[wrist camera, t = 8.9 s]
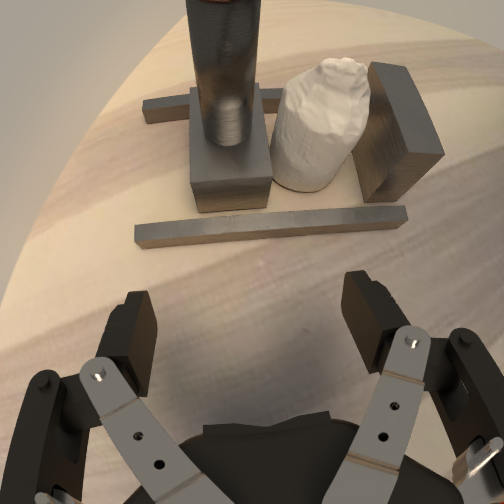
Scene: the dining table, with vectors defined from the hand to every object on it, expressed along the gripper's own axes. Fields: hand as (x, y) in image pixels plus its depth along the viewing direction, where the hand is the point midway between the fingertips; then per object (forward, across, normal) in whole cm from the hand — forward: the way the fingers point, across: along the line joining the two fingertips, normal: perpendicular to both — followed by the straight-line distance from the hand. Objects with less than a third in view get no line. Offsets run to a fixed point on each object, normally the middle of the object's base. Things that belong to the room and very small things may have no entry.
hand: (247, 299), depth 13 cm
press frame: (+15, -3, -2) cm, 16 cm away
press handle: (+15, 0, -2) cm, 15 cm away
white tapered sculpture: (+15, -6, -1) cm, 16 cm away
